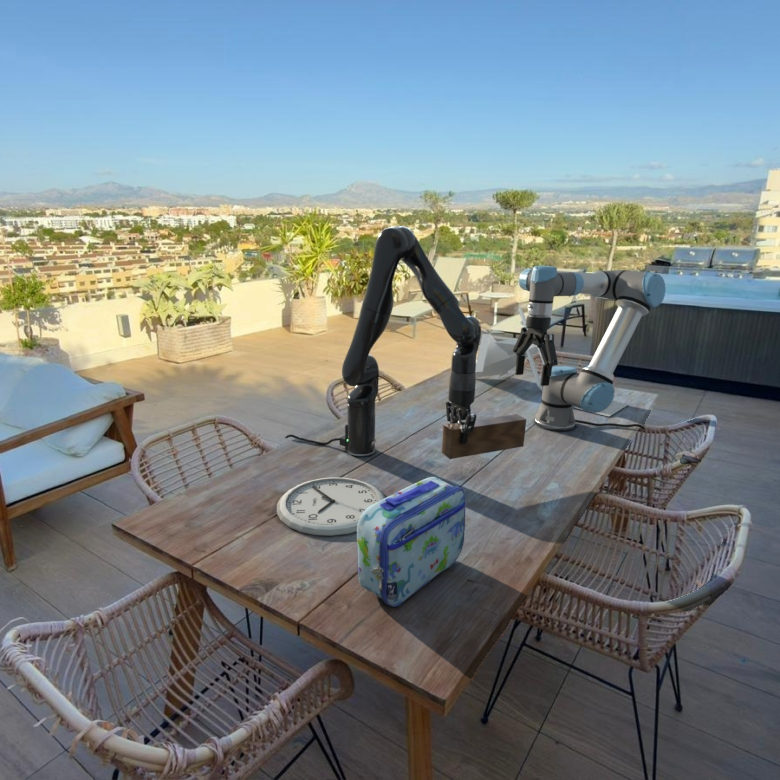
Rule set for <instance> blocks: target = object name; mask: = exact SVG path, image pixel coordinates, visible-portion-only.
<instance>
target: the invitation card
mask: <svg viewBox="0 0 780 780" xmlns="http://www.w3.org/2000/svg"><path fill="white" fill-rule="evenodd" d="M628 406H629V404H627V403H623V402H618V401H614V400H612V402H611V404H610V405H609V406H608V407H607V408H606V409H605V410H603V411H601V412H598V413H595V414H596V415H600V416H604V417H608V418H609V417H611V416H613V415H614V414H616V413H617V412H619V411H621V410H623V409H624V408H626V407H628ZM573 409H575V410H581V411H584V412H586V411H585V410H583V409H581V408H578V407H576V406H573ZM587 413H593V412H590V411H587ZM593 414H594V413H593Z"/></svg>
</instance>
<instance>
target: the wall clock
mask: <svg viewBox="0 0 780 780" xmlns="http://www.w3.org/2000/svg"><path fill="white" fill-rule="evenodd" d="M385 498H386V496H385V494H384V493H383V492H382V491H381V490H380V489H379V488H377V487H376V486H374V485H372V484H371V483H369V482H365V481H362V480H359V479H355V478H349V477H338V476H337V477H335V476H333V477H332V476H331V477H322V478H317V479H312V480H307V481H305V482H302V483H299V484H297V485H295V486H293V487H292V488H290V489H288V490H287V491H286V492H285V493H284V494H283V495H281V496H280V498H279V499H278V502H277V503H276V515H277V517H278V518H279V520H280V521H281V522H282V523H283V524H285V525H286V526H287V527H288V528H290V529H293V530H295V531H297V532H299V533H303V534H308V535H312V536H327V537H328V536H329V537H331V536H332V537H333V536H342V535H350V534H352V533H357V526H358V522H359V519H360V517H361V515H362V513H363V512H364V511H365V510H366V509H367V508H368V507H369V506H371V505H373V504H375V503H377V502H379V501H381V500H383V499H385Z"/></svg>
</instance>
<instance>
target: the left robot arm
mask: <svg viewBox="0 0 780 780" xmlns="http://www.w3.org/2000/svg"><path fill="white" fill-rule="evenodd" d="M400 261H402V262H403V263H404V264H405V265H406V266H407V267H408V268H409V269H410V271H411V272H412V273H413V275H414V276H415V280H416V281H417V283H418V286H419V288H420V290H421V293H422V296H423V297H424V299H425V301H426V302H427V303H428V304H429V305H430V307H431V308H432V310H433V311H434V312H435V313H436V314H437V316H438V317H439V319H440V322H441V323H442V324H443V327H444V328H445V330H446V332H447V334H448V335H449V337H450V339H452V340H453V341H454V342H455V343H456V346H455V349H454V351H453V352H452V355H451V364H450V365H451V367H450V374H449V380H448V381H449V383H448V399H447V400H448V401H445V410H446V413H445V414H446V422H449V424H452V423H458V424H459V425H460V431H461V432H460V444H466V443H467V440H468V432H473V429H474V425H475V421H476V420H477V414H476V413H472V409H471V405H472V404H474V402H475V395H476V384H477V383H476V382H477V377H476V375H475V371H476V360H477V356H478V352H479V348H480V343H481V338H482V326H481V323H480V321H479V319H478V318H477V317H475V316H472V315H465V314H464V312H463V311H462V309H461V308H460V307H461V303H460V301H459V299H458V298H457V296H456V295H455V294H454V292H453V291H452V290H451V289H450V287H448V285H447V283H445V281H444V279H442V277H441V276H440V275H439V273H438V272H437V270H436V269H435V267H434V266H433V264H432V262H431V261H430V260H429V258H428V256H427V254H426V253H425V251H424V249H423V248H422V245H421V243H420V242H419V240H418V238H417V237H416V235H415V234H414V232H413V231H412V230H411V229H410V228H409V227H407V226H402V225H401V226H399V225H398V226H390V227H386V228H384V229H383V230H382V231H380V233H379V234H378V236H377V238H376V241H375V246H374V252H373V257H372V264H371V270H370V274H369V278H368V281H367V285H366V289H365V292H364V296H363V299H362V303H361V307H360V310H359V313H358V314H359V315H358V319H357V321H356V322H357V323H356V325H355V330H354V332H353V335H352V339H351V342H350V345H349V347H348V350H347V353H346V355H345V358H344V360H343V363H342V368H341V376H342V380H343V381H344V383H345V384H346V385H347V386H349V387H354V388H353V389H352V390H351V391H350V392H349V393H348V395H347V398H346V404H347V405H346V408H347V409H346V410H347V412H346V413H347V423H346V424H345V425H344V435H342V436H340V437H335V438H332V439H329V440H328V441H326V442H325V441H323V442H321V441H316V440H311V439H308V438H305V437H300V436H297V435H294V434H287V435H286V436H285V437H284V438H285V439H288V438H294V439H296V440H299V441H304V442H307V443H310V444H314V445H315V444H316V445H320V446H326V445H327V446H328V445H329V444H331V443H332V442H336V441H339V446H342V447H344V450H345V451H344V452H347V453H348V454H349V455H350V456H353V457H358V458H359V457H360V458H364V457H369V456H372V455H374V454H375V453H376V443H377V438H376V399H377V397H378V395H379V394H378V393H379V381H380V380H379V379H380V378H379V377H380V369H379V364H378V361H377V359H376V357H374V356H373V355H371V354H370V352H371V350H372V348H373V347H374V346H375V344H376V343H377V342H378V340H379V339H380V338H381V336H382V335H383V333H384V332H385V331H386V329H387V328H388V325H389V322H390V319H391V315H392V312H393V307H394V290H393V283H394V278H395V274H396V271H397V268H398V266H399V263H400ZM464 424H465V427H463V425H464ZM469 426H470V428H469ZM299 437H300V438H299Z"/></svg>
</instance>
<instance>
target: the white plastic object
mask: <svg viewBox="0 0 780 780" xmlns="http://www.w3.org/2000/svg"><path fill="white" fill-rule="evenodd" d="M517 310H518V314H519V316H520V319H521V322H522V325H523V327H526V320H527V317H526V316H525V312H524V311H523V309H522V307H521V306H520V307H518V308H517ZM517 340H518V339H517V338H516V337H512V338H507V339H503V340H499V341H497V340H496V339H495V338H494V336H492V334H491V333H481V337H480V342H479V347H478V351H477V356H476V371H475V375H476V378H485V377H492V376H493V377H494V376H498V377H502V376H506V375H508V374H509V371H511V370H513V368H516V358H517V355H516V353H515V352H513V349H514V346H515V344H516V342H517ZM517 349H518V348H517ZM537 353H538V354H539V357H540V360H541V363H542V366H543V365H544V364H545V363H544V360H543V358H542V355H541V352H540V349H539V348H538V347H537V345H534V344H531V346H530V347H529V348H528V350H527V351H526V352H525V355H522V356H525V360H527V359H528V363H529V366H530V368H531V372H532V375H533V378H534V381H535V384H536V386H537V387H538V388H539V390H540V391H542V390H543V386H541V379H540V376H539V372H538V370H537V366H536V364H535V361H534V358H533V355H535V354H537Z"/></svg>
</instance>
